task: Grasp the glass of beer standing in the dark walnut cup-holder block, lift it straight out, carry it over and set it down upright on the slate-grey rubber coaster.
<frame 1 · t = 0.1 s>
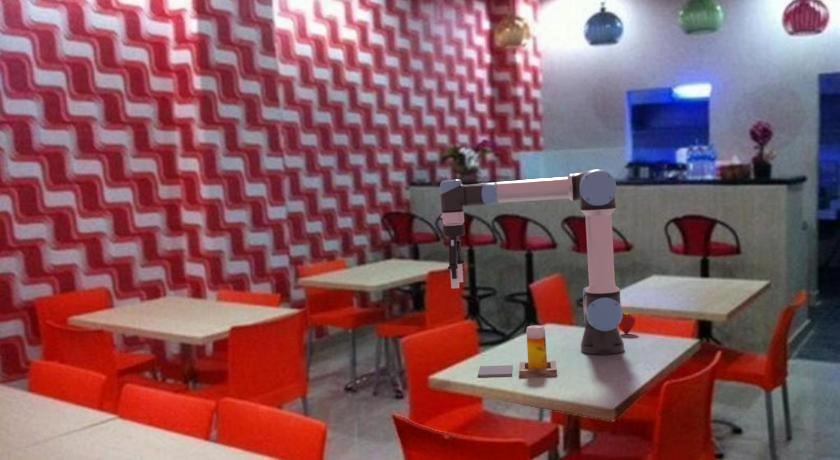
hand: (457, 285, 270), 28 cm above the table, fingers open, 13 cm apart
strawberry: (626, 334, 301), on the table
glass of beer: (538, 372, 254), resting in holder
coaster: (495, 372, 257), on the table
holder: (538, 371, 254), on the table
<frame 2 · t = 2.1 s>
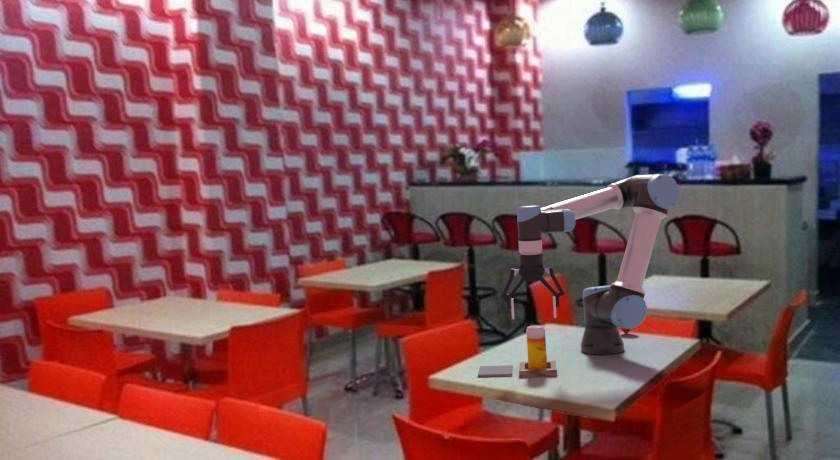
hand: (534, 317, 253), 18 cm above the table, fingers open, 13 cm apart
nothing on the table moved.
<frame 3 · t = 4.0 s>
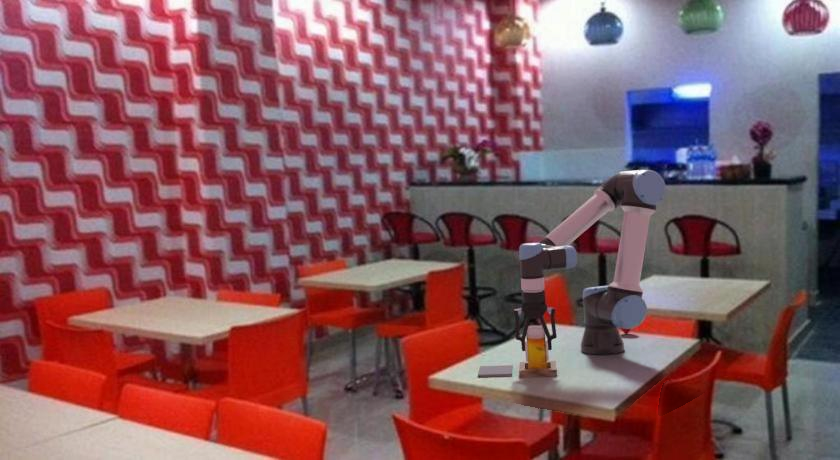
hand: (537, 360, 254), 4 cm above the table, fingers closed on glass of beer, 6 cm apart
glass of beer: (538, 372, 254), resting in holder, touching gripper
everything else where it was.
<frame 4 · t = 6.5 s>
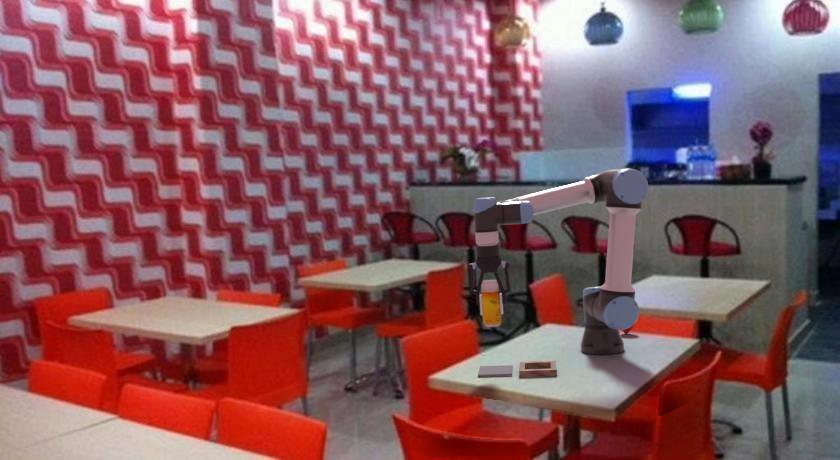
hand: (491, 313, 256), 20 cm above the table, fingers closed on glass of beer, 6 cm apart
glass of beer: (492, 326, 256), point 16 cm above the table, touching gripper
everything else where it was.
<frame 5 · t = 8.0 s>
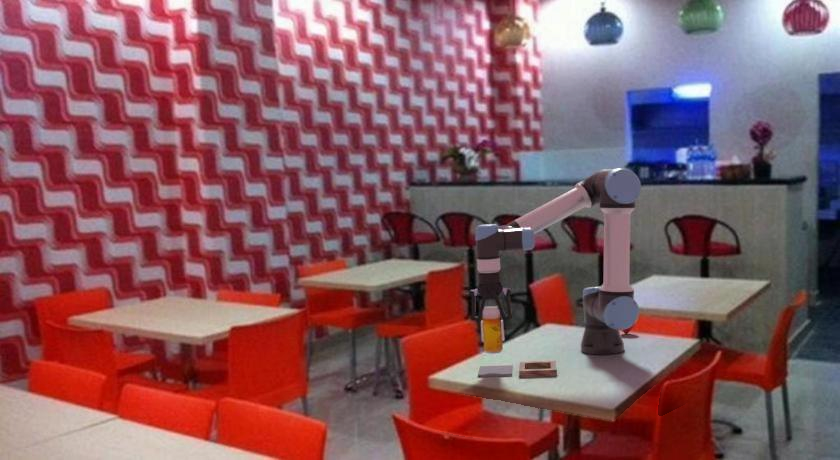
hand: (493, 340, 257), 11 cm above the table, fingers closed on glass of beer, 6 cm apart
glass of beer: (493, 352, 257), point 7 cm above the table, touching gripper
everything else where it was.
when the fingers open (6 cm above the table, at t = 9.3 s): glass of beer drops 1 cm, resting on coaster.
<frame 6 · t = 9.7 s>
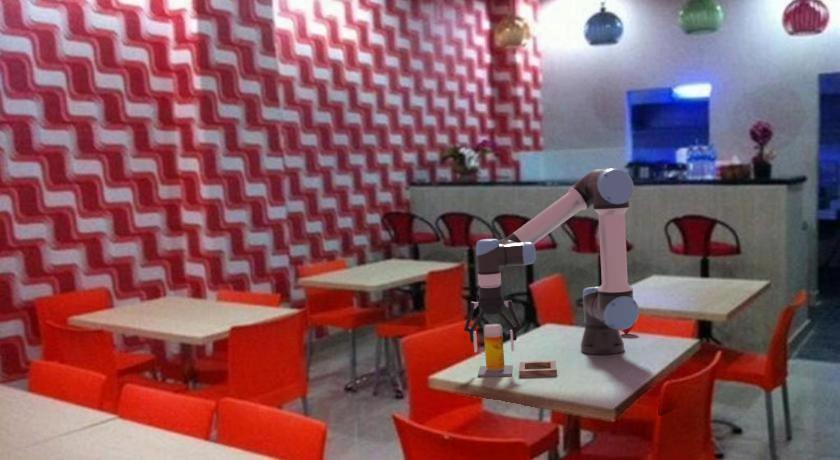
hand: (494, 350, 257), 7 cm above the table, fingers open, 11 cm apart
glass of beer: (495, 370, 257), point 1 cm above the table, touching coaster
everything else where it was.
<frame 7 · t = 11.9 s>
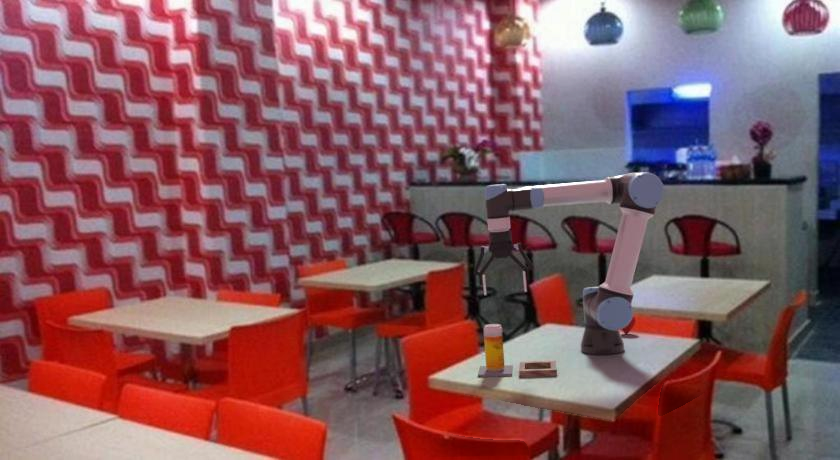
hand: (505, 293, 261), 25 cm above the table, fingers open, 13 cm apart
nothing on the table moved.
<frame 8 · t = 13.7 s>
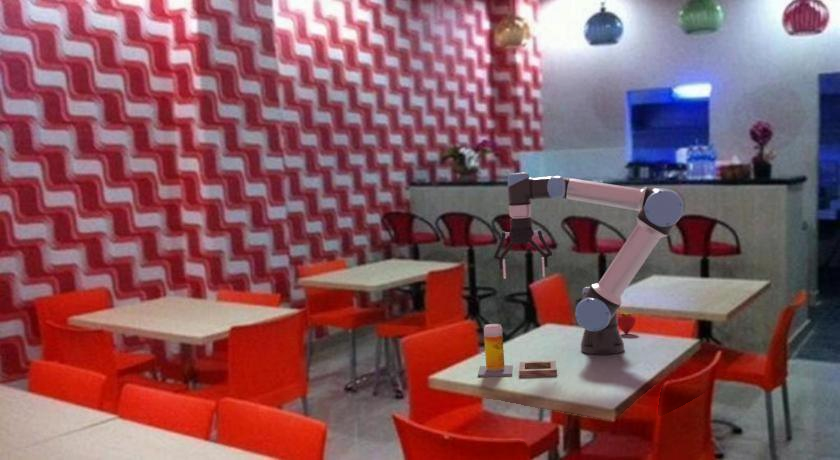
hand: (524, 277, 272), 29 cm above the table, fingers open, 13 cm apart
nothing on the table moved.
at the end: glass of beer 0.1 cm from the coaster (horizontally); glass of beer tilted 0°; the gripper is holding nothing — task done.
